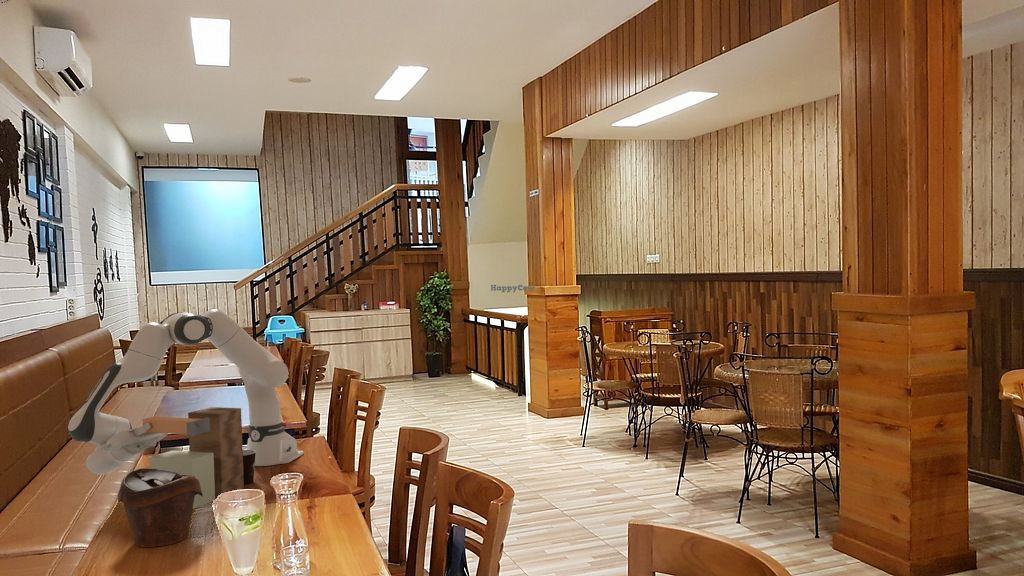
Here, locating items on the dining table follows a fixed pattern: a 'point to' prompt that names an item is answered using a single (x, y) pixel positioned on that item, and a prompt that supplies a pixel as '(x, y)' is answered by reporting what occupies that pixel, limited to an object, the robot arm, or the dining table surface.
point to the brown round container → (158, 505)
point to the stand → (222, 446)
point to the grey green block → (190, 470)
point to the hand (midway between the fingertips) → (157, 423)
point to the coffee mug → (248, 466)
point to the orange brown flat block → (178, 425)
